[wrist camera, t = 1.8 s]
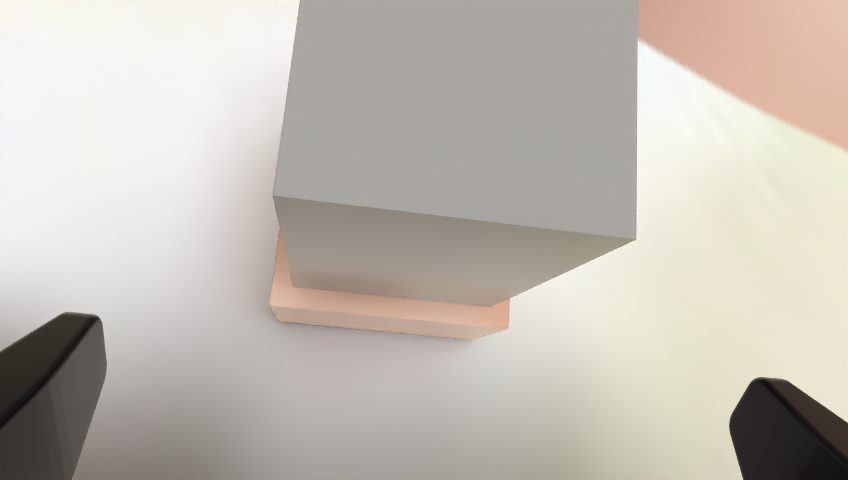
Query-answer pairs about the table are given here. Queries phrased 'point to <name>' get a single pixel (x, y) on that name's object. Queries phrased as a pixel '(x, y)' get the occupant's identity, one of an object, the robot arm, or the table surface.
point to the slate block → (457, 145)
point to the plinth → (379, 310)
